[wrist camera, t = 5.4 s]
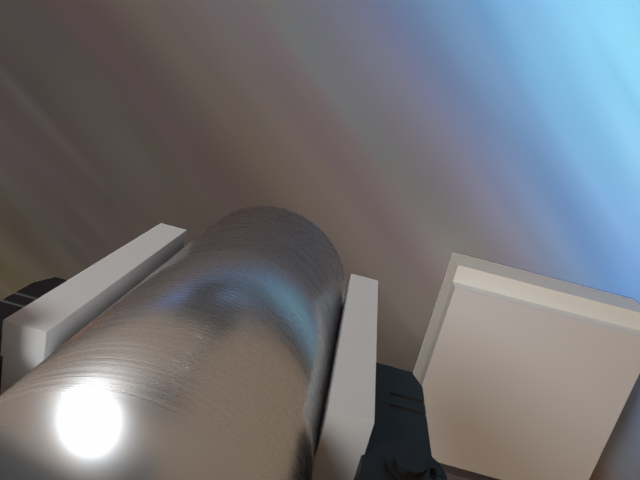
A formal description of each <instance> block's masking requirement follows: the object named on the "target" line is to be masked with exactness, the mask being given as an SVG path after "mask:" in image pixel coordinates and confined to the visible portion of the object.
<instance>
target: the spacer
mask: <svg viewBox="0 0 640 480" xmlns="http://www.w3.org/2000/svg"><path fill="white" fill-rule="evenodd" d="M345 286H346V283H345V273H344V269H343V264H342V262H341V259H340V256H339V254H338V252H337V250H336V248H335V246H334V245H333V243H332V242H331V241H330V239H329V238H328V237H327V236H326V234H325V233H324V232H323V231H322V230H321V229H320V228H319V227H317V226H316V225H315V224H314V223H313V222H311V221H310V220H308V219H306V218H305V217H303V216H301V215H299V214H297V213H295V212H292V211H289V210H286V209H283V208H278V207H273V206H252V207H247V208H242V209H239V210H236V211H233V212H231V213H229V214H227V215H225V216H223V217H222V218H220V219H219V220H218V221H216V222H215V223H214V224H212V225H211V226H210V227H209V228H207V229H206V230H205V231H204V232H202V233H201V234H200V235H199V236H197V237H196V238H195V239H194V240H192V241H191V242H190V243H189V244H188V245H186V246H185V247H184V248H183V249H181V250H180V251H179V252H178V253H176V254H175V255H174V256H173V257H171V258H170V259H169V260H168V261H166V262H165V263H164V264H163V265H161V266H160V267H159V268H158V269H156V270H155V271H154V272H153V273H151V274H150V275H149V276H148V277H147V278H145V279H144V280H143V281H142V282H140V283H139V284H138V285H137V286H135V287H134V288H133V289H132V290H130V291H129V292H128V293H127V294H125V295H124V296H123V297H122V298H120V299H119V300H118V301H117V302H115V303H114V304H113V305H112V306H111V307H109V308H108V309H107V310H106V311H104V312H103V313H102V314H101V315H99V316H98V317H97V318H96V319H94V320H93V321H92V322H91V323H89V324H88V325H87V326H86V327H84V328H83V329H82V330H81V331H79V332H78V333H77V334H76V335H75V336H73V337H72V338H71V339H70V340H68V341H67V342H66V343H65V344H63V345H62V346H61V347H60V348H58V349H57V350H56V351H55V352H53V353H52V354H51V355H50V356H48V357H47V358H46V359H45V360H43V361H42V362H41V363H40V364H38V365H37V366H36V367H35V368H34V369H32V370H31V371H30V372H29V373H27V374H26V375H25V376H24V377H22V378H21V379H20V380H19V381H17V382H16V383H15V384H14V385H12V386H11V387H10V388H9V389H7V390H6V391H5V392H4V393H2V394H1V395H0V480H311V479H312V474H313V468H314V459H315V453H316V448H317V442H318V437H319V431H320V426H321V421H322V415H323V410H324V404H325V399H326V393H327V388H328V382H329V377H330V372H331V366H332V361H333V355H334V350H335V344H336V339H337V333H338V328H339V323H340V317H341V312H342V306H343V303H344V297H345Z"/></svg>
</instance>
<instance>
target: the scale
mask: <svg viewBox="0 0 640 480" xmlns="http://www.w3.org/2000/svg"><path fill="white" fill-rule="evenodd" d="M639 374H640V304H639V303H637V302H636V301H635V300H634V299H631V298H627V297H623V296H619V295H615V294H612V293H608V292H604V291H600V290H596V289H593V288H589V287H585V286H581V285H577V284H573V283H570V282H566V281H562V280H558V279H554V278H551V277H547V276H543V275H539V274H535V273H532V272H528V271H524V270H520V269H516V268H512V267H509V266H505V265H501V264H497V263H493V262H490V261H486V260H482V259H478V258H474V257H470V256H467V255H463V254H459V253H455V252H453V253H452V256H451V259H450V262H449V265H448V268H447V271H446V274H445V277H444V280H443V283H442V286H441V289H440V292H439V295H438V298H437V301H436V304H435V307H434V310H433V313H432V316H431V319H430V322H429V325H428V328H427V331H426V334H425V337H424V340H423V343H422V346H421V349H420V352H419V355H418V358H417V361H416V364H415V367H414V370H413V375H414V376H415V377H416V379H417V380H418V382H419V383H420V384H421V386H422V387H423V394H424V404H425V409H426V417H427V424H428V432H429V440H430V447H431V455H432V457H433V458H434V459H435V460H436V461H437V462H438V463H439V464H440V465H441V467H442V468H443V470H444V472H445V473H446V475H447V480H589V479H590V477H591V474H592V472H593V470H594V468H595V466H596V464H597V462H598V460H599V458H600V456H601V453H602V451H603V449H604V447H605V445H606V443H607V441H608V439H609V437H610V435H611V432H612V430H613V428H614V426H615V424H616V422H617V420H618V418H619V416H620V414H621V411H622V409H623V407H624V405H625V403H626V401H627V399H628V397H629V395H630V393H631V390H632V388H633V386H634V384H635V382H636V380H637V378H638V376H639Z"/></svg>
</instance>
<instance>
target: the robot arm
mask: <svg viewBox="0 0 640 480" xmlns="http://www.w3.org/2000/svg"><path fill="white" fill-rule="evenodd" d="M186 231H187V230H185V229H181V228H177V227H173V226H170V225H166V224H162V223H160V224H159V225H157V226H156V227H154V228H152V229H151V230H149V231H147V232H146V233H144V234H142V235H141V236H139V237H138V238H136V239H134V240H133V241H131V242H129V243H128V244H126V245H125V246H123V247H121V248H120V249H118V250H116V251H115V252H113V253H111V254H110V255H108V256H107V257H105V258H103V259H102V260H100V261H98V262H97V263H95V264H94V265H92V266H90V267H89V268H87V269H85V270H84V271H82V272H80V273H79V274H77V275H76V276H74V277H72V278H71V279H69V280H64V279H60V278H57V277H54V278H50V279H46V280H42V281H38V282H34V283H32V284H30V285H28V286H26V287H25V288H23V289H21V290H19V291H17V293H16V294H12V295H10V296H9V297H7V298H5V299H3V302H1V301H0V395H1V394H2V393H4V392H5V391H6V390H7V389H9V388H10V387H11V386H12V385H14V384H15V383H16V382H17V381H19V380H20V379H21V378H22V377H24V376H25V375H26V374H27V373H29V372H30V371H31V370H32V369H34V368H35V367H36V366H37V365H38V364H40V363H41V362H42V361H43V360H45V359H46V358H47V357H48V356H50V355H51V354H52V353H53V352H55V351H56V350H57V349H58V348H60V347H61V346H62V345H63V344H65V343H66V342H67V341H68V340H70V339H71V338H72V337H73V336H75V335H76V334H77V333H78V332H79V331H81V330H82V329H83V328H84V327H86V326H87V325H88V324H89V323H91V322H92V321H93V320H94V319H96V318H97V317H98V316H99V315H101V314H102V313H103V312H104V311H106V310H107V309H108V308H109V307H111V306H112V305H113V304H114V303H115V302H117V301H118V300H119V299H120V298H122V297H123V296H124V295H125V294H127V293H128V292H129V291H130V290H132V289H133V288H134V287H135V286H137V285H138V284H139V283H140V282H142V281H143V280H144V279H145V278H147V277H148V276H149V275H150V274H151V273H153V272H154V271H155V270H156V269H158V268H159V267H160V266H161V265H163V264H164V263H165V262H166V261H168V260H169V259H170V258H171V257H173V256H174V255H175V254H176V253H178V252H179V251H180V250H181V249H183V248H184V243H185V237H186ZM377 300H378V281H377V280H373V279H369V278H366V277H362V276H358V275H354V274H351V277H350V281H349V284H348V288H347V292H346V295H345V299H344V303H343V306H342V312H341V317H340V323H339V328H338V333H337V339H336V344H335V350H334V355H333V361H332V366H331V372H330V377H329V382H328V388H327V393H326V399H325V404H324V410H323V415H322V421H321V426H320V431H319V437H318V442H317V448H316V453H315V459H314V468H313V474H312V479H311V480H447V475H446V473H445V472H444V470H443V468H442V467H441V465H440V464H439V463H438V462H437V461H436V460H435V459H434V458H433V457H432V455H431V447H430V440H429V432H428V424H427V417H426V409H425V404H424V394H423V387H422V386H421V384H420V383H419V382H418V380H417V379H416V377H415V376H414V375H413V373H412V372H409V371H405V370H401V369H398V368H394V367H390V366H387V365H383V364H379V363H376V340H377Z"/></svg>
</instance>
